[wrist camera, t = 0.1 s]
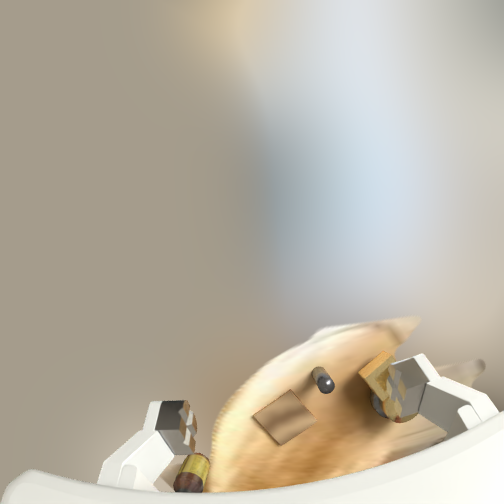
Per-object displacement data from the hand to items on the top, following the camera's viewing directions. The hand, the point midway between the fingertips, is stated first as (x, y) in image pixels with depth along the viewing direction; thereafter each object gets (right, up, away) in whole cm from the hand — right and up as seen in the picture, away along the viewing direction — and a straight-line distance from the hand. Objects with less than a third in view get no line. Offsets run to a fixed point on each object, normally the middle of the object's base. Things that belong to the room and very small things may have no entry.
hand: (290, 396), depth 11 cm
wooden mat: (+6, -31, +51) cm, 59 cm away
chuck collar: (+28, -24, +47) cm, 60 cm away
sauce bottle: (-14, -44, +50) cm, 68 cm away
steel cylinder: (+13, -20, +51) cm, 57 cm away
